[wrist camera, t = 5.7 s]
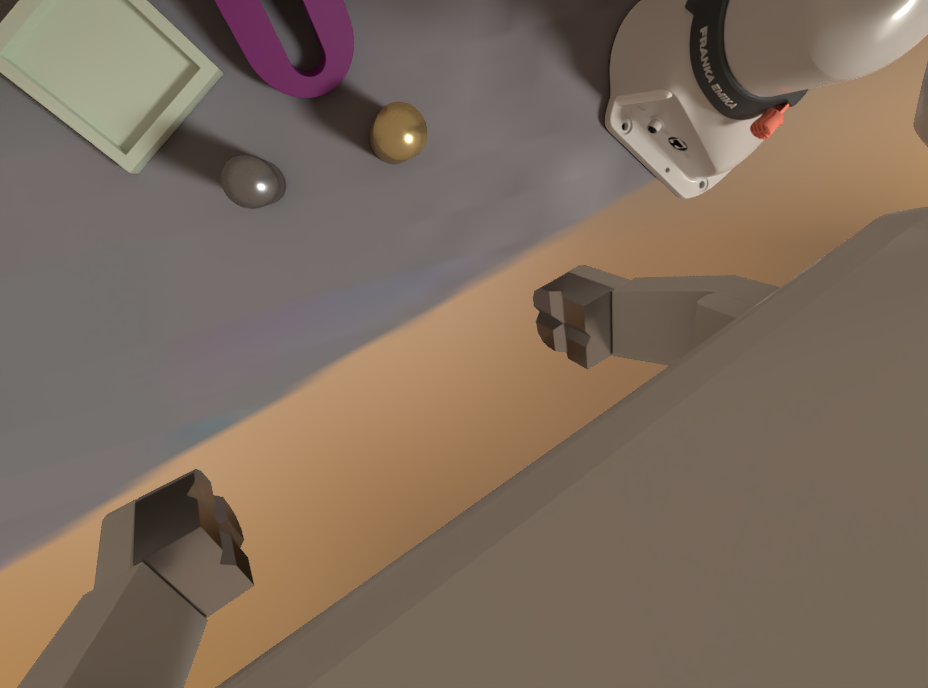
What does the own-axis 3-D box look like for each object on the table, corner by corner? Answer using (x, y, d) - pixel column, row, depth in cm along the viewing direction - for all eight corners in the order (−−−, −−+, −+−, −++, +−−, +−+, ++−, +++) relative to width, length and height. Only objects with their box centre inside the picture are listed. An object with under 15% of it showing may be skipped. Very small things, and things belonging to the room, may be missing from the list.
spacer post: (294, 183, 44) (286, 183, 36) (267, 212, 44) (253, 219, 36) (260, 151, 42) (243, 143, 34) (232, 182, 43) (208, 181, 34)
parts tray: (223, 74, 40) (219, 69, 38) (138, 173, 41) (129, 172, 39) (87, -56, 35) (75, -69, 33) (-8, 59, 36) (-25, 53, 34)
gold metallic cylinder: (423, 140, 46) (437, 132, 40) (393, 173, 46) (402, 171, 40) (390, 103, 44) (399, 89, 38) (359, 138, 44) (363, 129, 38)
